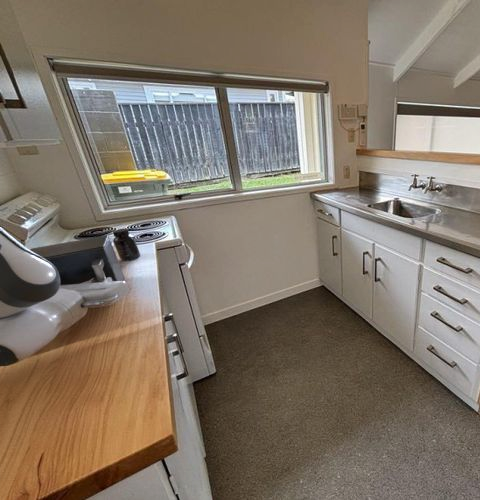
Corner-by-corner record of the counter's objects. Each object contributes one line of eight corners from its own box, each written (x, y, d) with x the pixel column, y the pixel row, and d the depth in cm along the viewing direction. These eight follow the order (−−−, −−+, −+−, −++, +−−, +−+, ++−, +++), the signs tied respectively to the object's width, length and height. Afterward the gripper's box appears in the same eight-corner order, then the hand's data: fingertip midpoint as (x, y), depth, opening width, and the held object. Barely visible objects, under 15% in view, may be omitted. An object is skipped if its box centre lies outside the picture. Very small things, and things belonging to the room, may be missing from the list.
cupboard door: (120, 303, 83) (100, 254, 77) (36, 326, 74) (5, 273, 68) (122, 293, 88) (103, 247, 82) (43, 314, 79) (15, 263, 73)
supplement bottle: (123, 256, 117) (112, 229, 113) (142, 253, 120) (133, 226, 115) (118, 262, 111) (106, 234, 107) (138, 259, 114) (128, 231, 109)
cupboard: (122, 293, 88) (103, 246, 82) (43, 314, 79) (15, 263, 73) (124, 278, 98) (108, 235, 92) (55, 295, 89) (31, 248, 83)
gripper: (102, 293, 67) (138, 267, 79) (9, 300, 65) (60, 272, 78) (112, 315, 69) (145, 286, 82) (22, 322, 68) (70, 292, 80)
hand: (103, 280), depth 80 cm, fingers closed, pressing on cupboard door
